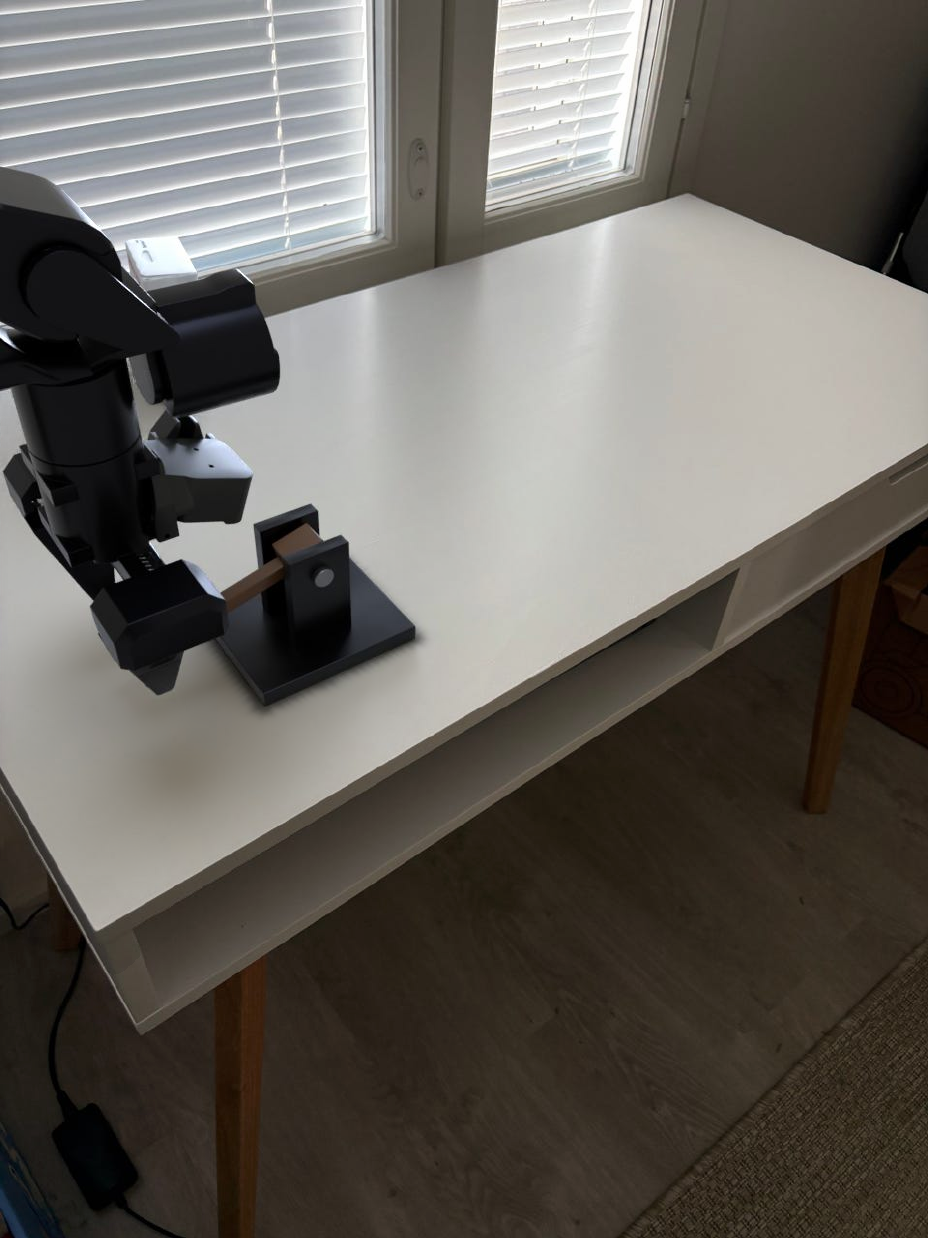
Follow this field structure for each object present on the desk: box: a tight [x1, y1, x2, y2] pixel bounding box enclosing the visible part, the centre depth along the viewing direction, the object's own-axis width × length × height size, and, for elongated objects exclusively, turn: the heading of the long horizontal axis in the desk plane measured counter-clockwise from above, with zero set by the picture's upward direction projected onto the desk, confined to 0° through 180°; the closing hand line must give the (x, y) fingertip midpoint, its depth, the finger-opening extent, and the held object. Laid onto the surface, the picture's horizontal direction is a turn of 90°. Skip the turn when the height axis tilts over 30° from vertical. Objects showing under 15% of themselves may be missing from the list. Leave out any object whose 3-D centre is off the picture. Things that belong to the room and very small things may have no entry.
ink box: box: [124, 235, 199, 291], centre depth 93 cm, size 8×5×12 cm, turn 25°
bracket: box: [214, 503, 417, 706], centre depth 70 cm, size 12×10×9 cm
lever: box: [143, 523, 324, 688], centre depth 66 cm, size 14×5×2 cm, turn 125°
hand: (134, 645), depth 64 cm, fingers open, 9 cm apart
